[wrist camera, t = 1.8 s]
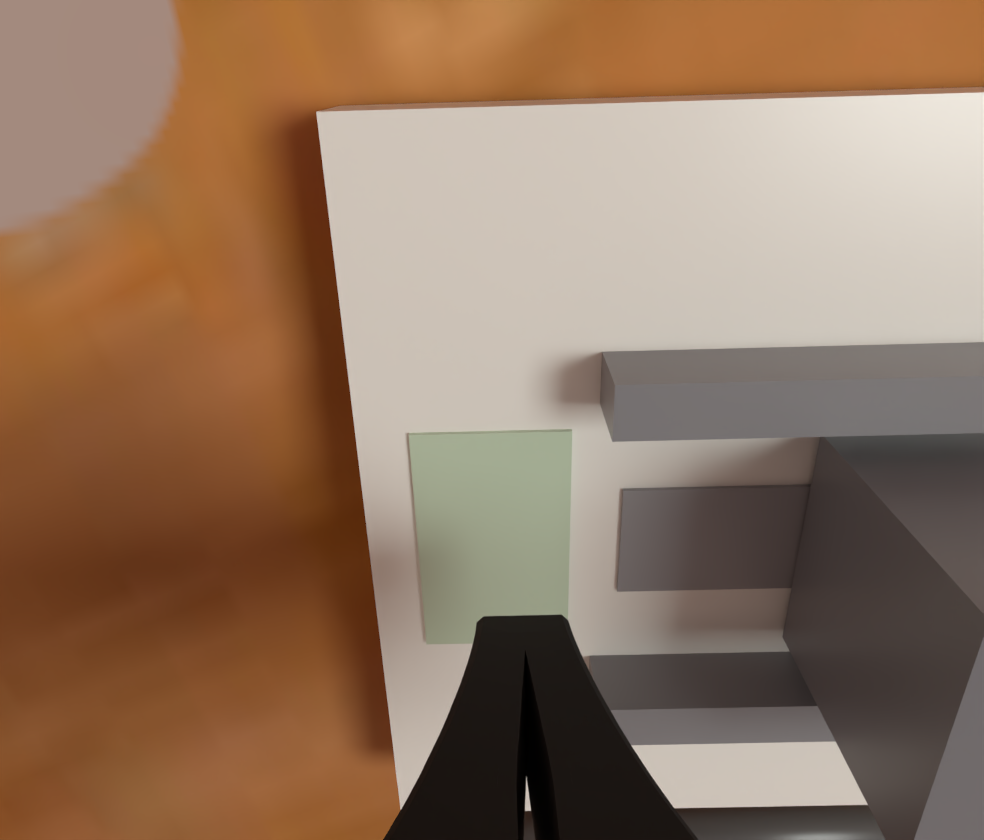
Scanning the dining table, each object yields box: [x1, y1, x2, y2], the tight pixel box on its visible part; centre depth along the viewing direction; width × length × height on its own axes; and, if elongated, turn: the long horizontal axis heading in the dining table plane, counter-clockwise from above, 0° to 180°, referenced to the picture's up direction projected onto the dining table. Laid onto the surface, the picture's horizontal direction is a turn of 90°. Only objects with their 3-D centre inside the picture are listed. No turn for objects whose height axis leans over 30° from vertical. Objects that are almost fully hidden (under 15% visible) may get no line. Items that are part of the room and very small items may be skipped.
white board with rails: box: [316, 87, 984, 840], centre depth 16 cm, size 20×21×4 cm
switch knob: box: [782, 433, 984, 840], centre depth 12 cm, size 3×5×5 cm, turn 2°
